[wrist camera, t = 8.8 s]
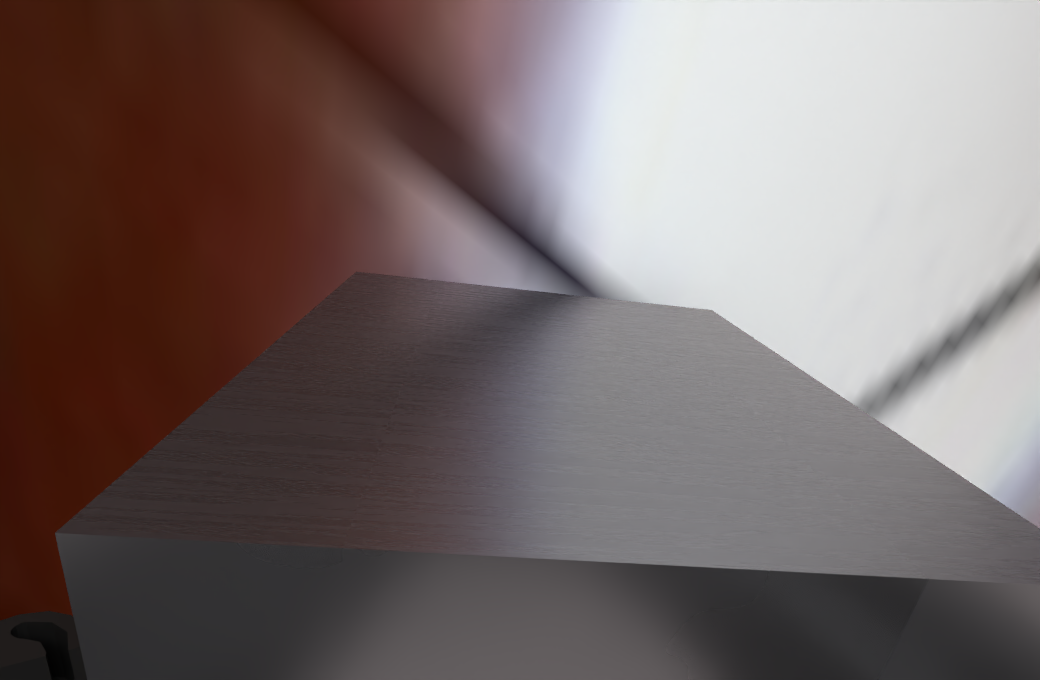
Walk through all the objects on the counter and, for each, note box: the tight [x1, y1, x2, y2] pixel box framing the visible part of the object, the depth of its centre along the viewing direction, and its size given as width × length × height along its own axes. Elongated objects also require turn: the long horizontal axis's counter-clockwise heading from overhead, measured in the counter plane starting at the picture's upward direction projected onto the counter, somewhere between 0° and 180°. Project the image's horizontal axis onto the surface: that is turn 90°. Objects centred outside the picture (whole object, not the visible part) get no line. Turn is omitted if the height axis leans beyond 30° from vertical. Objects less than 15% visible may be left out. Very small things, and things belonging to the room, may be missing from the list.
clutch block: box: [55, 272, 1040, 680], centre depth 9 cm, size 8×8×8 cm
